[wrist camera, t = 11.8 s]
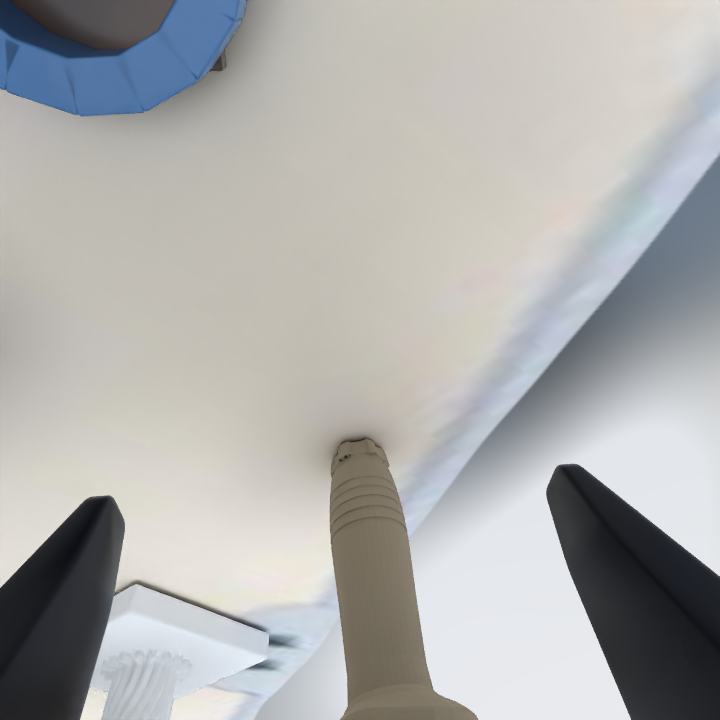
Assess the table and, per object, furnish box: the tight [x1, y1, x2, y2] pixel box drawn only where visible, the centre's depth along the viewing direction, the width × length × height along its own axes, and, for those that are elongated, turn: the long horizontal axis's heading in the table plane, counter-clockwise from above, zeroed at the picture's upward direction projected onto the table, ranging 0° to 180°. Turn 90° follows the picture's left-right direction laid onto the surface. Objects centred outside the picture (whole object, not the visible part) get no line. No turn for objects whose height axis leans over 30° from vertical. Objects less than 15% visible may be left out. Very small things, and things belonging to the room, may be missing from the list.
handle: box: [330, 439, 478, 720], centre depth 23 cm, size 5×6×15 cm
